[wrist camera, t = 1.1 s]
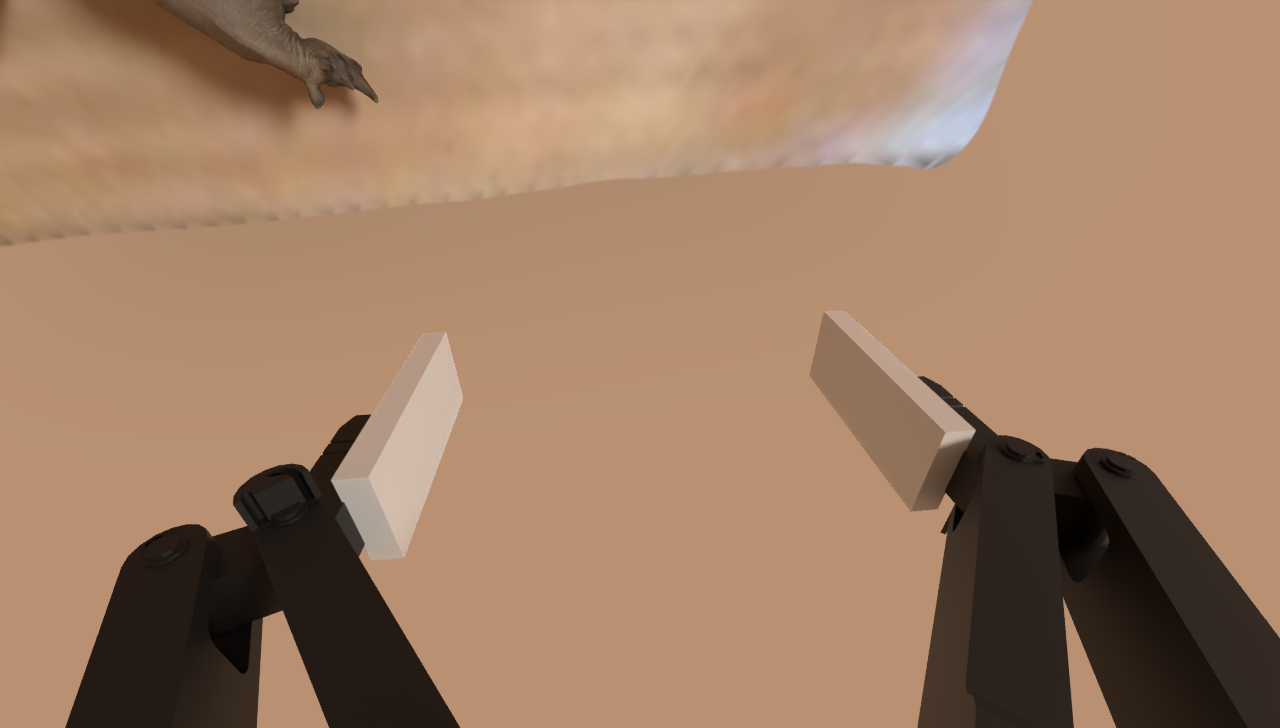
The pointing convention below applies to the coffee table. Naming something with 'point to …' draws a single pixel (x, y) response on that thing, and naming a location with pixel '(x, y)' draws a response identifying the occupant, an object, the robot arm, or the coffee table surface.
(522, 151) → the coffee table surface
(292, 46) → the rhino figurine
